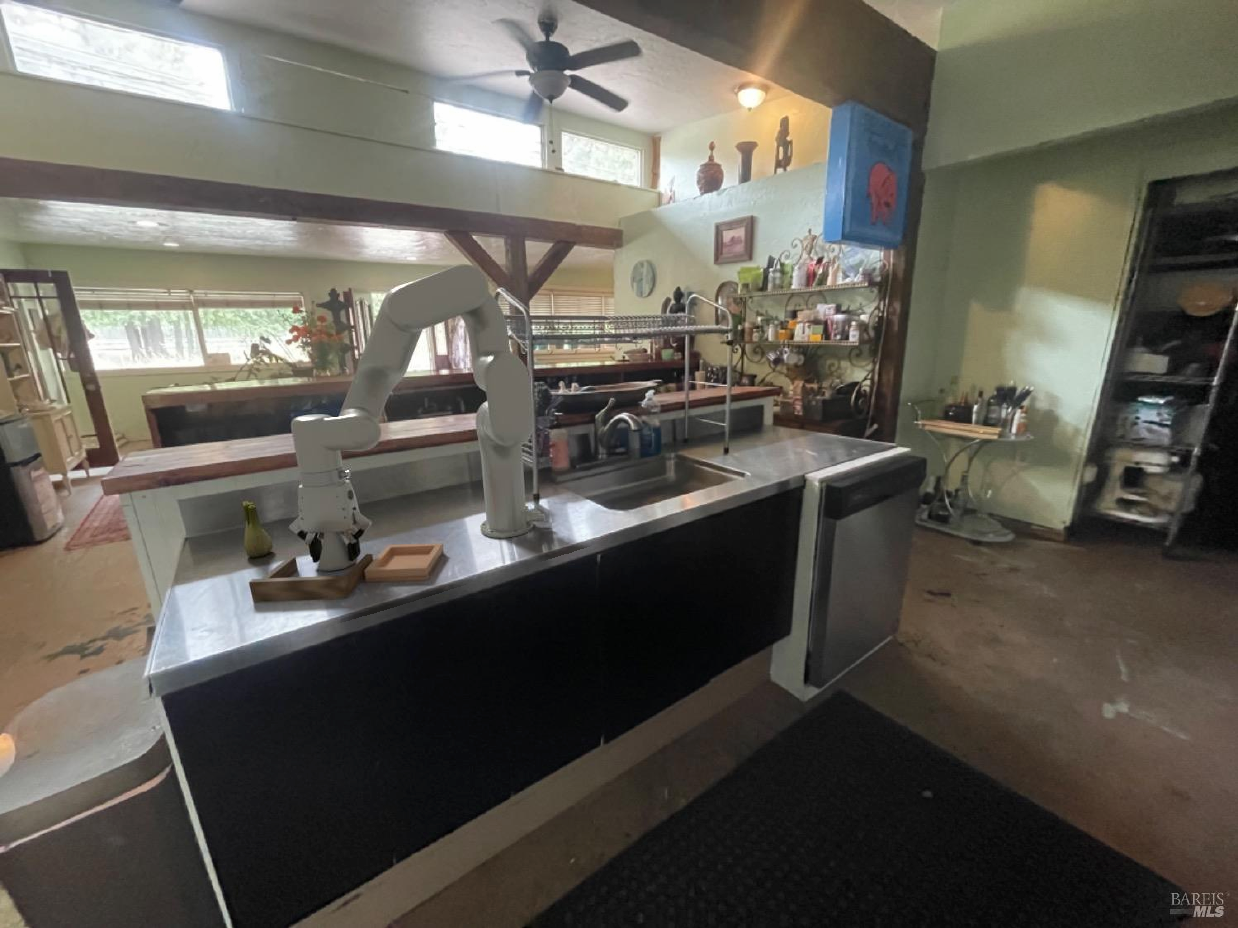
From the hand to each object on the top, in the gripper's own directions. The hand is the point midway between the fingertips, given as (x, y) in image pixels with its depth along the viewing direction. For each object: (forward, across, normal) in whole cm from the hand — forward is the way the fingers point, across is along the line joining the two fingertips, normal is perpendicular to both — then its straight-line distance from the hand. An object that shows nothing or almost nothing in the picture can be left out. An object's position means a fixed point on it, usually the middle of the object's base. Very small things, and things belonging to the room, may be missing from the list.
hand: (336, 558), depth 103 cm
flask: (+1, 0, 0) cm, 1 cm away
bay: (+1, 0, +9) cm, 9 cm away
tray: (+1, -15, +3) cm, 15 cm away
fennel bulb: (+2, +19, -7) cm, 20 cm away
